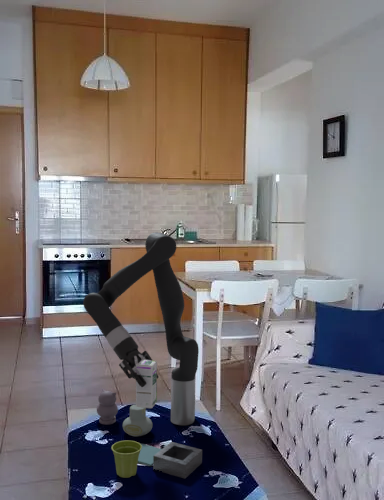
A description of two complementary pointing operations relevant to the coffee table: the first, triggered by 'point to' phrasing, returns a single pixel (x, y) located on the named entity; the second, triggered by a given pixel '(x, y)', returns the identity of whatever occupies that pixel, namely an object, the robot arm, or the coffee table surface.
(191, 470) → the collar
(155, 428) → the coffee table surface
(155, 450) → the mat
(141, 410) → the air freshener
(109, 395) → the cat figurine
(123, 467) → the plant pot
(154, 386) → the syrup box
